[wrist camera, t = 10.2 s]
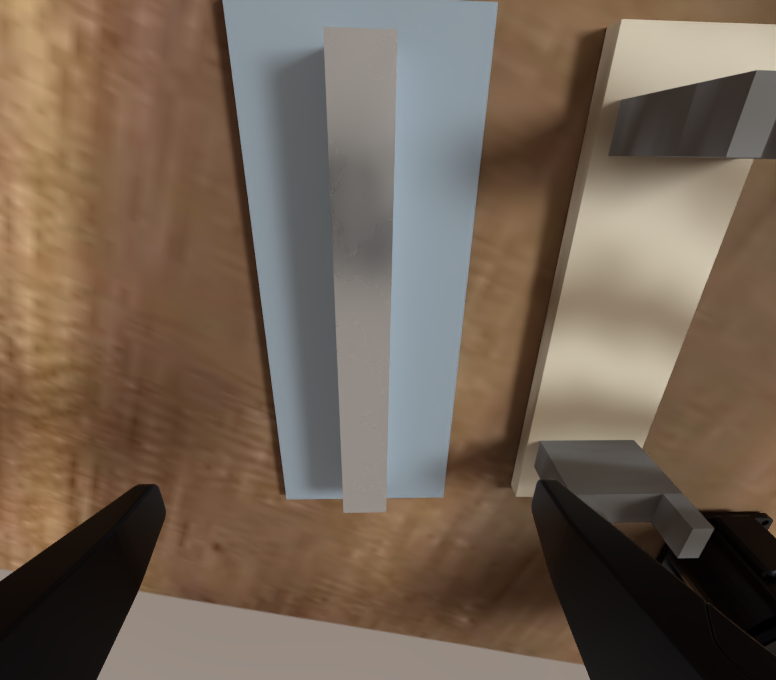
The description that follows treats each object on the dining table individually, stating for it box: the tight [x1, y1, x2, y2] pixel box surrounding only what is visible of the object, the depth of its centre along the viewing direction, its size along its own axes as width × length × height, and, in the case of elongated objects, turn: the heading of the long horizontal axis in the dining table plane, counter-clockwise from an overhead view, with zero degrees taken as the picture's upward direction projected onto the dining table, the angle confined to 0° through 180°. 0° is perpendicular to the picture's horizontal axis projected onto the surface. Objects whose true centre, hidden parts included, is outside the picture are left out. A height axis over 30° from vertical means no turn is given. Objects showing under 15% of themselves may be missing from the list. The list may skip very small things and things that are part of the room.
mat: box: [223, 0, 498, 499], centre depth 20 cm, size 25×10×1 cm, turn 179°
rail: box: [323, 27, 398, 513], centre depth 18 cm, size 22×2×2 cm, turn 179°
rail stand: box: [511, 19, 776, 558], centre depth 17 cm, size 24×7×7 cm, turn 179°
